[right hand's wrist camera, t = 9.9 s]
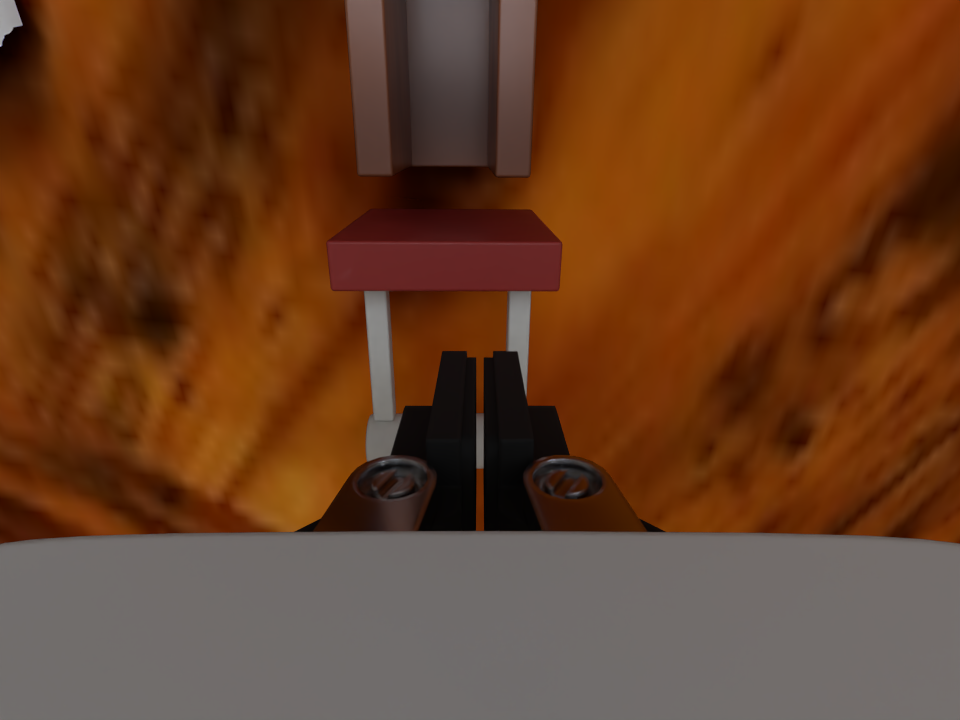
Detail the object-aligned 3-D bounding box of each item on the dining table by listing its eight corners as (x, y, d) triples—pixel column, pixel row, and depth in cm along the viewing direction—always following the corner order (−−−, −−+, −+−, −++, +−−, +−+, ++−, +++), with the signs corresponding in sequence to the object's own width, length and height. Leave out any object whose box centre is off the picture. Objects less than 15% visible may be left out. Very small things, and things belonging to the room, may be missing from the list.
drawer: (523, 400, 21) (545, 499, 15) (382, 400, 21) (351, 500, 15) (562, -477, 12) (647, -1014, 7) (322, -486, 12) (195, -1045, 6)
